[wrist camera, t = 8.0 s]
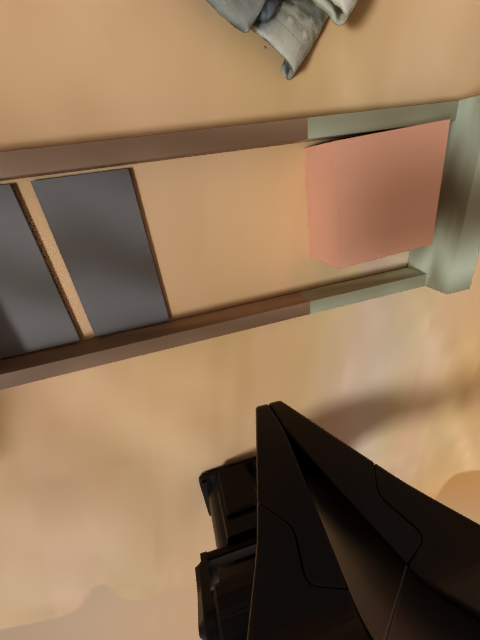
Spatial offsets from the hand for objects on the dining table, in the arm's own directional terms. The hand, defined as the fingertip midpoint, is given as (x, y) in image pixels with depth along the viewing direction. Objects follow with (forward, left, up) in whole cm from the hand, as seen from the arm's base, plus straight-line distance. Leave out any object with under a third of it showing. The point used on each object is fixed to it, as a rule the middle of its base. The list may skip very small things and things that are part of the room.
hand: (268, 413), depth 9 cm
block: (+4, -11, -13) cm, 18 cm away
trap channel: (+3, -2, -13) cm, 13 cm away
